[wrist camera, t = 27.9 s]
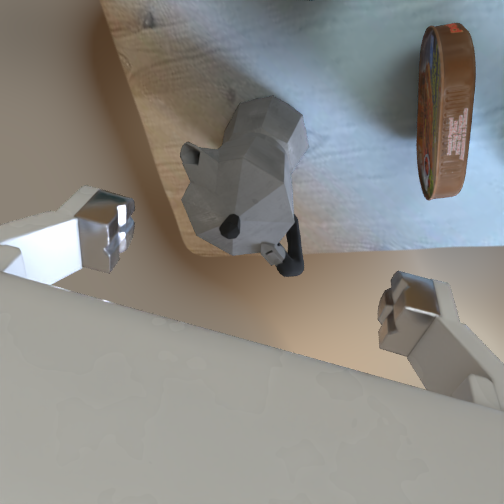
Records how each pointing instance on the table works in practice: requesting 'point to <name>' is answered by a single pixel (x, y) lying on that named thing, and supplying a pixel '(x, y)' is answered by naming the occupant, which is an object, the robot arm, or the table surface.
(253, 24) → the table surface
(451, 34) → the tin
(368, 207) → the table surface
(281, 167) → the coffeepot
